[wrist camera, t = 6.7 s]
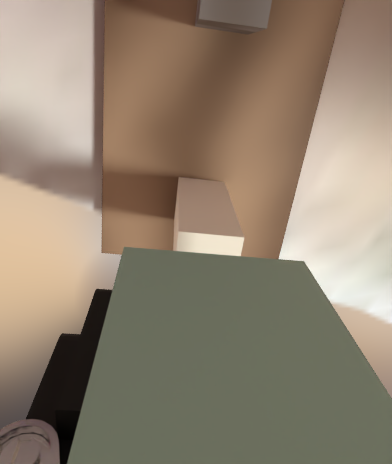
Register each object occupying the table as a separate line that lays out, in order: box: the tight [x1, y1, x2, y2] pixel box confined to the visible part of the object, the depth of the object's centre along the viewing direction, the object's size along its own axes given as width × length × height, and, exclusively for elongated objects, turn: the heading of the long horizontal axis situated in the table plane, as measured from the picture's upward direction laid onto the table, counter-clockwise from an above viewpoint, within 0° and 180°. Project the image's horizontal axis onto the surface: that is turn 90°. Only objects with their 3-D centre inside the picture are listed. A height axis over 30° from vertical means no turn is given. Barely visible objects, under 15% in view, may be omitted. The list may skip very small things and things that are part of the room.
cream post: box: [173, 177, 244, 256], centre depth 18 cm, size 3×3×7 cm
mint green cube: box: [67, 247, 392, 464], centre depth 8 cm, size 5×5×7 cm
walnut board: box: [102, 0, 344, 259], centre depth 17 cm, size 11×18×5 cm, turn 173°
